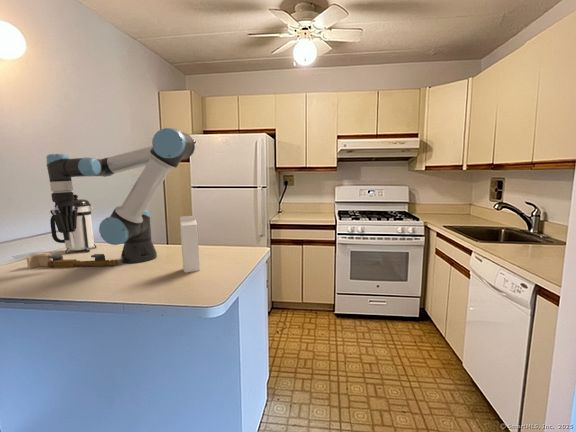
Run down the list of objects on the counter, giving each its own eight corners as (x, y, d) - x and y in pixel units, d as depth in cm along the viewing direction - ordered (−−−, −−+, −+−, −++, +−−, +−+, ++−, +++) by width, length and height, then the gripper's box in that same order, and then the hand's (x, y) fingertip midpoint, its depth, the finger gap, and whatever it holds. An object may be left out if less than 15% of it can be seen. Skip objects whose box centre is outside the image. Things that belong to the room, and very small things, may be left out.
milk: (200, 270, 126) (196, 216, 123) (184, 272, 123) (180, 217, 120) (197, 266, 131) (194, 214, 128) (182, 268, 129) (179, 215, 126)
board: (113, 262, 142) (112, 249, 141) (102, 267, 133) (100, 254, 133) (42, 263, 143) (41, 251, 142) (26, 269, 134) (25, 255, 134)
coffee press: (89, 246, 178) (83, 193, 174) (102, 249, 168) (96, 193, 165) (53, 252, 164) (46, 195, 160) (65, 256, 155) (58, 196, 151)
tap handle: (113, 260, 134) (44, 261, 135) (114, 267, 135) (45, 268, 135) (117, 258, 138) (50, 259, 138) (118, 265, 138) (51, 266, 138)
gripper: (64, 191, 137) (72, 244, 140) (40, 193, 124) (49, 251, 127) (81, 190, 136) (88, 243, 140) (59, 192, 124) (67, 250, 127)
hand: (70, 247), depth 133 cm, fingers closed
